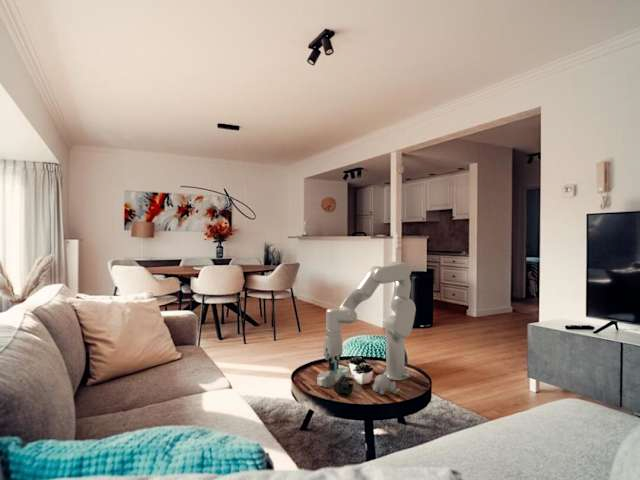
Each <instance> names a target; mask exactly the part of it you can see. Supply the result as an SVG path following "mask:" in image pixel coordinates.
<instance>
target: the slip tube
mask: <svg viewBox="0 0 640 480" xmlns="http://www.w3.org/2000/svg"><path fill="white" fill-rule="evenodd" d="M333 363H334V371H332V370H329V372H332V373H335V381H337V379H338V373H337V360H334V362H333ZM316 379H317V380H316V382H317V384H316V385H317V386H319V385H321V386H320V387H322V385H324V378H322V377H319V378H318V377H317V378H316Z"/></svg>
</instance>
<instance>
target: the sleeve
mask: <svg viewBox="0 0 640 480" xmlns="http://www.w3.org/2000/svg"><path fill="white" fill-rule="evenodd" d="M319 377H322V378H324V385H322V386H321V385H318V386H320V387H323V388H324V389H325V388H328V387H331V386H334V384H335V383H336V380H335V373H332V372H330V370H326V371H324V372H321V373H318V374H317V378H319Z"/></svg>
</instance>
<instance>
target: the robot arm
mask: <svg viewBox="0 0 640 480" xmlns="http://www.w3.org/2000/svg"><path fill="white" fill-rule="evenodd" d="M411 274H412V268H411V265H410V264H407V263H406V262H402V261H393V262H390V263H388V265H386V266H379V265H374V266H372V267H370V269H369V270H368V272H367V273H365V276H364V277H363V279H361V281H360V283H359V284H358V285H357V287H356V288H355V289H354V290H353V291H352V292H351V293H350V294H348V295H347V297H346V298H345V299H344V300H343V302H342V304H341V305H340V306H339V307H338V308H335V307H332V308H331V307H330V308H328V309H326V311H325V324H326V325H325V333H326V335H325V337H324V340H323V342H324V343H323V356H324V360H326V361H327V362H328V371H330V370H332V371H334V363H333V362H334V360H337V369H339V365H340V364H339V361H340V359H341V357H342V355H343V350H344V349H343V336H342V324H346V325H348V324H350V325H351V324H353V323H355V322H356V321H357V319H358V314H357V312H356V311H355V310H356V308H357V307H358V306H359V305H360V304H361V303H362V302H364V301H367V300H369V299H370V298H371V297H372V296H373V295H374V293H375V292H376V290H377V288H378V287H379V286H380V284H381V285H385V284H390V283H391V284H392V283H393V284H394V285H393V286H394V287H393V288H394V289H393V293H392V298H391V302H390V308H391V310H392V312H394V313H395V315H393V314H392V315H390V316H388V317H387V318H386V319H385V322H384V332H385V333H384V334H385V358H386V359H385V360H386V361H385V364H386V366H385V367H386V368H385V371H384V372H383V373H382V374H384V375H386V376H387V377H388V378H389V380H390V381H391V380H392V381H404V380H407V379H408V378H411V376H412V375H411V374H412V372H410V371H407V368H406V367H405V354H406V353H405V348H406V347H405V345H406V344H405V339H406V338H408V337H409V336H410V334H411V333H412V330H413V326H414V322H415V317H416V311H417V309H416V304H415V302H414V301H413V300H412V299H411V298H410V297H411V289H412V282H411V279H410V276H411Z"/></svg>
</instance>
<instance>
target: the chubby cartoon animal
mask: <svg viewBox="0 0 640 480" xmlns="http://www.w3.org/2000/svg"><path fill="white" fill-rule="evenodd" d="M387 390H388V391H389V392H391V393H392V394H394V395H396V394H397V393H398V392H400V387H397V384H396V380H393V381H391V379H389V378H388V377H387V376H386V375H384V374H383V373H381V374H380V373H379V374H378V375H376V376H375V378H374V383H373V384H372V391H373V392H375V393H378V394H379V395H381V396H383V395H384V394H385V391H387Z"/></svg>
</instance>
